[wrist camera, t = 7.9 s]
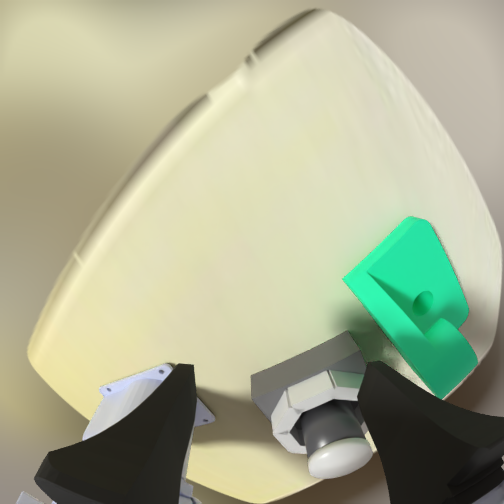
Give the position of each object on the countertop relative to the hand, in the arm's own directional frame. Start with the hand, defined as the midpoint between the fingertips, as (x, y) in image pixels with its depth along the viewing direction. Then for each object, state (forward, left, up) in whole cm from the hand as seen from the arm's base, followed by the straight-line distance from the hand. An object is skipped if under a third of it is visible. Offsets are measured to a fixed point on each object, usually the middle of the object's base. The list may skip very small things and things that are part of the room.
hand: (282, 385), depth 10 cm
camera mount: (+11, -6, -11) cm, 17 cm away
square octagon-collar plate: (0, -11, -10) cm, 15 cm away
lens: (0, -11, -7) cm, 13 cm away
